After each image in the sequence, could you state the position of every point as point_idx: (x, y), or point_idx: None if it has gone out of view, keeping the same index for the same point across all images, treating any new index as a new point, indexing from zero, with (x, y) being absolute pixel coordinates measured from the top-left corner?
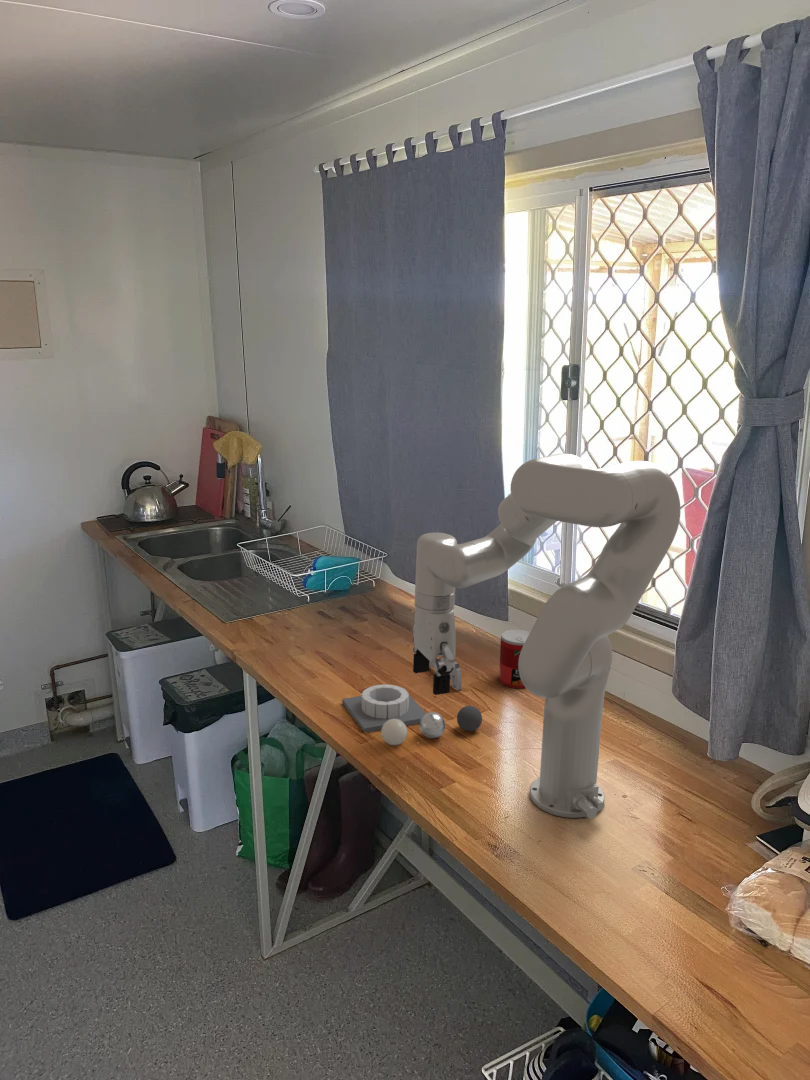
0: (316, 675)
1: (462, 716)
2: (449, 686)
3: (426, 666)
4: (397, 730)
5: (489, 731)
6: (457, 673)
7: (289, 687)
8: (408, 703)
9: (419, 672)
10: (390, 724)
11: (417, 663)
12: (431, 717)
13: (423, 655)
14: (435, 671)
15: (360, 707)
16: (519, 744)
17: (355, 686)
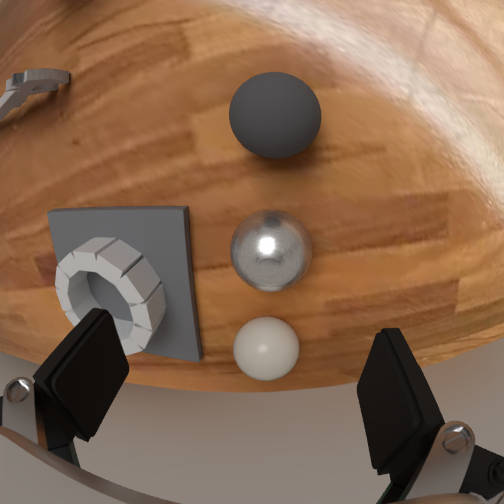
0: (18, 314)
1: (290, 150)
2: (408, 349)
3: (99, 341)
4: (294, 364)
5: (306, 69)
6: (35, 79)
7: None
8: (115, 244)
9: (123, 352)
10: (273, 379)
11: (106, 398)
12: (286, 278)
13: (73, 409)
14: (388, 488)
15: None
16: (400, 47)
17: (35, 283)
